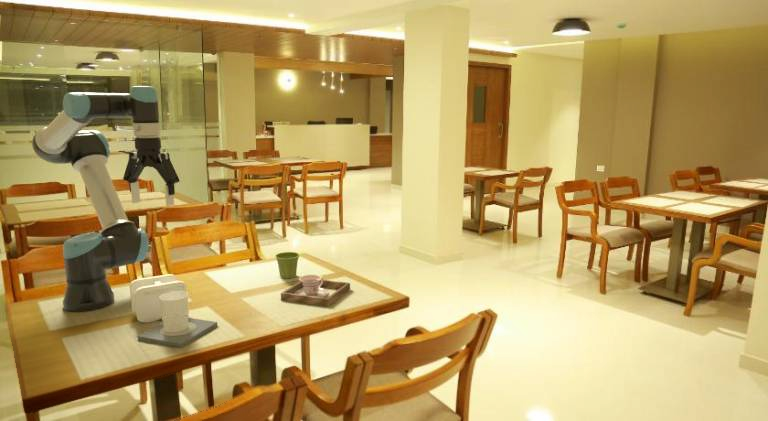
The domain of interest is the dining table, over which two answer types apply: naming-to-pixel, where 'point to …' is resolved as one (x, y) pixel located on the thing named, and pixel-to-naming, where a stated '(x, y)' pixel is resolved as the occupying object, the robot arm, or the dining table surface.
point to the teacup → (312, 286)
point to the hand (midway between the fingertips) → (153, 203)
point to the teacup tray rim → (290, 296)
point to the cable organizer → (152, 295)
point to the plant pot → (287, 264)
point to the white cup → (174, 311)
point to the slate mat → (178, 333)
